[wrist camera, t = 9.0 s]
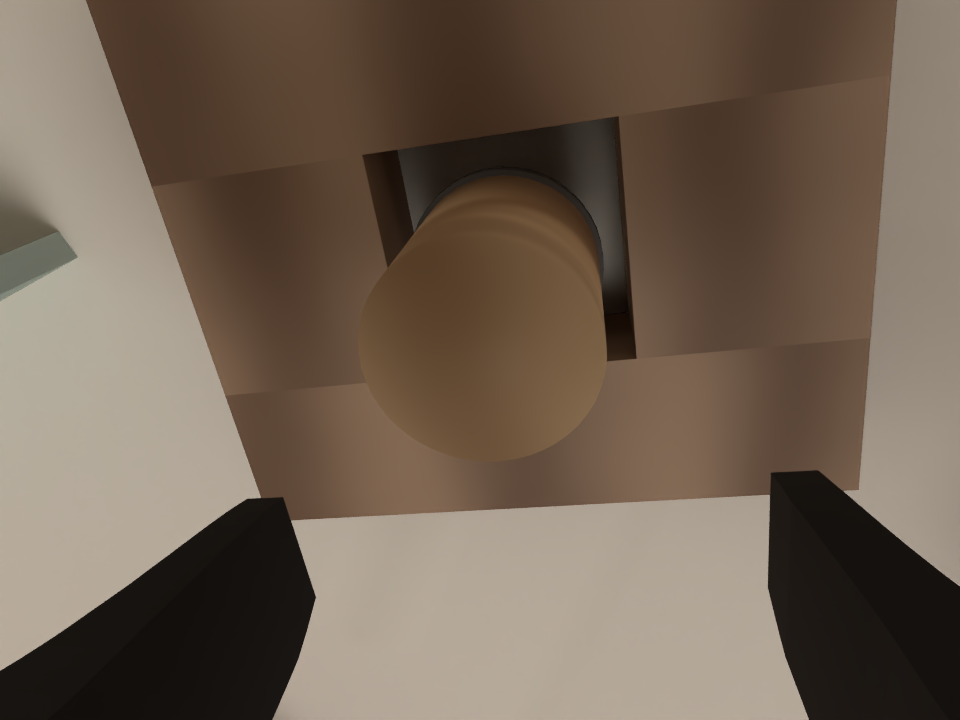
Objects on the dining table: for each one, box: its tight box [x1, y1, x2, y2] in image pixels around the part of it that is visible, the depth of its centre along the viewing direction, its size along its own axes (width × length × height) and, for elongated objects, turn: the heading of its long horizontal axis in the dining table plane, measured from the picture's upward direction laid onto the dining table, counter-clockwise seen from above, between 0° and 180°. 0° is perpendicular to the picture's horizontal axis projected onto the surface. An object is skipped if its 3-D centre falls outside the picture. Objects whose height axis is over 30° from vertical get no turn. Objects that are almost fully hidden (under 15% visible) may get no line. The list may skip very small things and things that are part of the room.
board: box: [86, 0, 897, 520], centre depth 18 cm, size 16×14×3 cm
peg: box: [358, 167, 607, 462], centre depth 15 cm, size 4×4×8 cm
